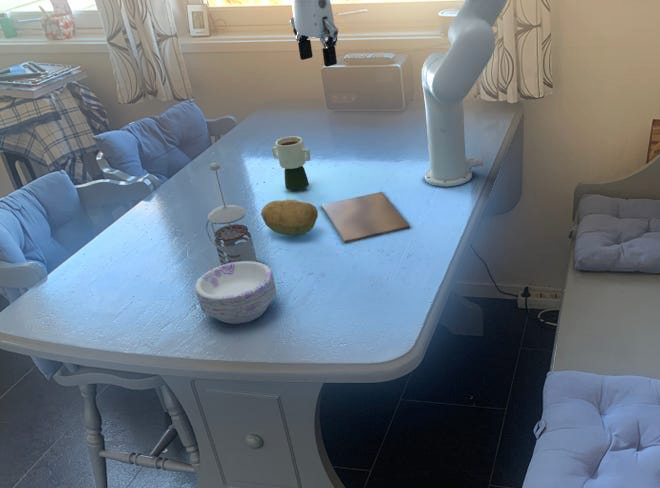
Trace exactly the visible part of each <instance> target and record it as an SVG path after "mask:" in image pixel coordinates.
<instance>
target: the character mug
mask: <svg viewBox="0 0 660 488" xmlns="http://www.w3.org/2000/svg"><path fill="white" fill-rule="evenodd" d="M271 151H272V155H273V158H274V159H277V160H278V164H279V166H280V167H281V168H282V169H284V186H285V189H286V190H287V191H289V192H295V191H301V190H302V189H305V188H308V187H309V185H310V183H309V182H310V181H309V178H308V176H307V173H306V170H305V168H304V165H305V164H306V162H309V161H311V160H312V158H311V153H310V149H309V148H307V147H305V145H304V141H303V137H301V136H298V135H294V136H293V135H289V136H285V137H281V138H279V139H277V140H276V141H275V145H274V146H272V147H271Z"/></svg>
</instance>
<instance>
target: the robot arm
mask: <svg viewBox="0 0 660 488" xmlns="http://www.w3.org/2000/svg"><path fill="white" fill-rule="evenodd" d="M291 1H292V2H291V4H292V5H291V6H292V13H293V14H292V15H293V16H292V17H291V18H290V21H289V23H290V25H291V27H292V29H293V30H292V32H293V34H294V35H295V40H296V42H297V46H298V52H299V59H300V60H302V61H304V60H308V59H312V58H313V49H312V42H311V39H309V38H313V39H318V40H319V41H320V43H321V45H322V46H323V48H321V51H322V57H323V64H324V67H327V68H328V67H331V66H334V65H337V64H338V61H337V53H336V47H337V41H338V34H339V29H338V26H336V25H335V18H334V13H333V8H332V3H331V0H291ZM507 2H508V0H465V1H464V2H463V4H462V6H461V7H460V9H459V10H458V12H457V14H456V15H455V17H454V19H453V20H452V22H451V24H450V25H449V28H448V30H447V40H448V43H449V45H450V48H449V49H448V51H447V52H445V51H435V52H433V53H431V54H430V55H429V56H427V58H426V59H425V60H424V62H423V65H422V67H421V84H422V85H421V86H422V91H423V96H424V99H423V100H424V104H425V105H424V106H425V107H424V108H425V118H426V119H425V121H426V132H427V146H428V160H429V161H428V162H429V169H427V170H426V172H425V173H424V181H425V182H426V183H427V184H429V185H432V186H435V187H442V188H443V187H444V188H445V187H447V188H449V187H457V186H460V185H463V184H466V183H467V182H469V181H470V180H471V179H472V178H473V168H475V167H476V168H477V167H482V166H484V159H483V158H482V157H481V158H475V157H474V156H472V157H469V158H468V157H466V139H465V113H464V111H465V110H464V99H465V98H466V97H467V96H468V94H469V93H470V92H471V90H472V88H473V87H474V86H475V84H476V83H477V81H478V80H479V78H480V76H481V74H482V73H483V72H484V71H485V68H486V67H487V65H488V63H489V62H490V60H491V59H492V56H493V54H494V51H495V47H496V43H497V40H496V35H495V31H494V29H493V27H494V26H495V24H496V22H497V21H498V18H499V16H500V14H501V13H502V11H503V10H504V8H505V6H506V3H507ZM326 39H327V40H326Z"/></svg>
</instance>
